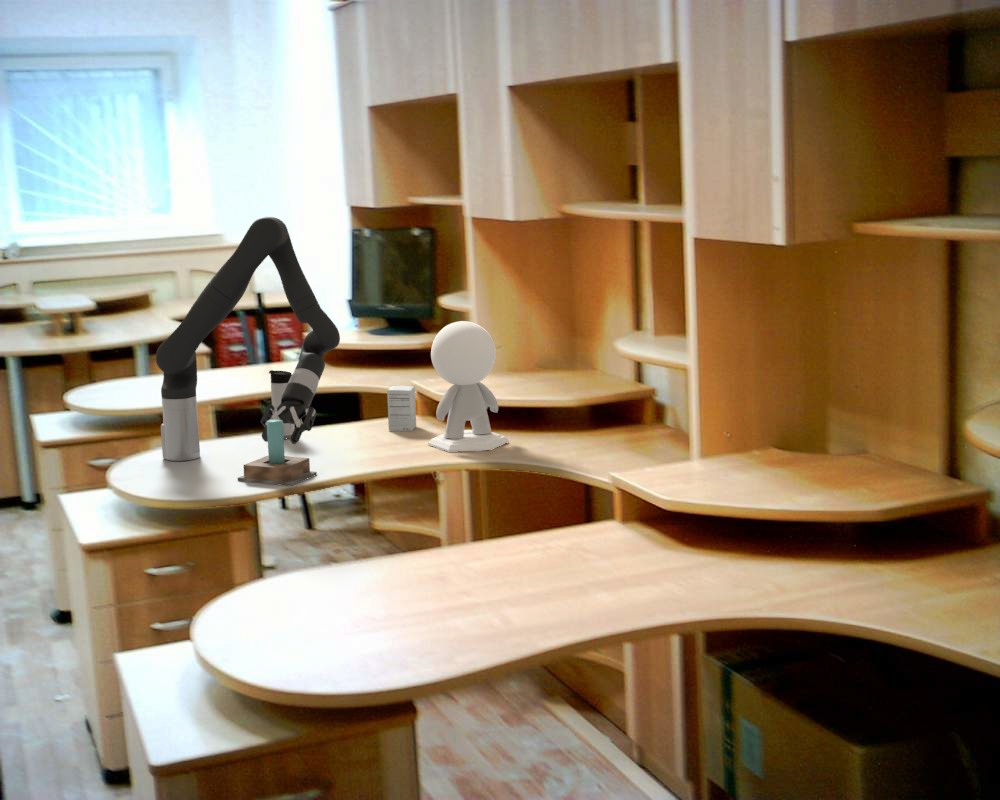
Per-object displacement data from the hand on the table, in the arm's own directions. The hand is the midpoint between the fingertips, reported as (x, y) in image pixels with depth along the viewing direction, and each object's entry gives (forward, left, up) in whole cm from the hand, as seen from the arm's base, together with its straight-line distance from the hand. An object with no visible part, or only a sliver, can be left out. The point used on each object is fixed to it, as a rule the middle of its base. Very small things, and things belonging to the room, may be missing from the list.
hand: (278, 441), depth 321 cm
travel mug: (-26, +42, -10) cm, 50 cm away
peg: (0, -1, -8) cm, 9 cm away
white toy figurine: (+30, +51, -10) cm, 60 cm away
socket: (0, -1, -9) cm, 9 cm away
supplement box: (+2, +64, -10) cm, 64 cm away
